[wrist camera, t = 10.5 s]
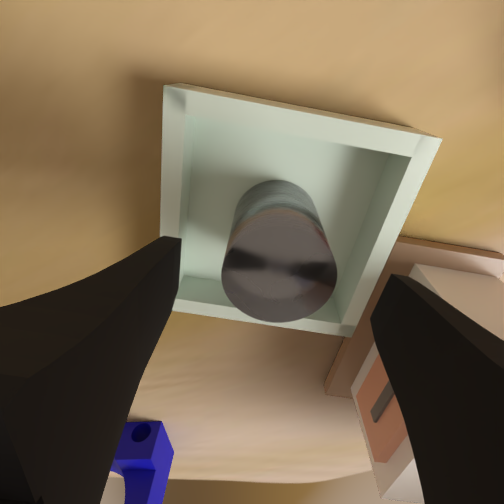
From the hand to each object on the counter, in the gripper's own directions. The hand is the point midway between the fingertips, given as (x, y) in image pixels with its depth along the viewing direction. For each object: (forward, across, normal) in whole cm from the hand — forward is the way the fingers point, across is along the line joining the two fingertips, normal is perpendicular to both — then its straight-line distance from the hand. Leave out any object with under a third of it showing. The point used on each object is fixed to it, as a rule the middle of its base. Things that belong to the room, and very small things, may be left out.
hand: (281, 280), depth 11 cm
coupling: (+5, 0, 0) cm, 5 cm away
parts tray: (+6, 0, 0) cm, 6 cm away
